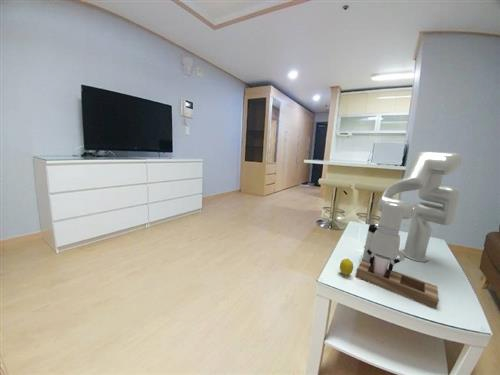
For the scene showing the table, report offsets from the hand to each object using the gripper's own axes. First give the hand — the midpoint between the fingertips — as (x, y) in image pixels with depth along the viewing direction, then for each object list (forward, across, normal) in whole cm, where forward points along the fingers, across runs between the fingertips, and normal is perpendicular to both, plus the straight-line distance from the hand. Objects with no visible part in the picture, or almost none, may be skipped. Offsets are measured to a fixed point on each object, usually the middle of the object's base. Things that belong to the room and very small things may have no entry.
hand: (380, 267), depth 95 cm
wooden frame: (+6, +6, 0) cm, 8 cm away
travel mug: (+6, -6, +15) cm, 18 cm away
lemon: (+6, -12, -8) cm, 16 cm away
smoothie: (+4, 0, 0) cm, 4 cm away
